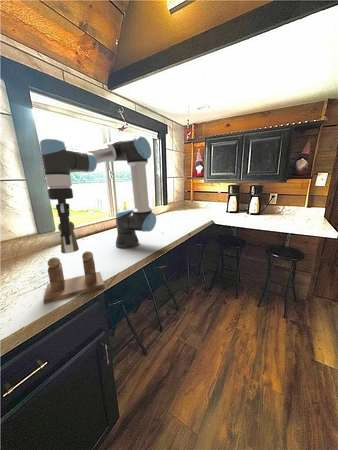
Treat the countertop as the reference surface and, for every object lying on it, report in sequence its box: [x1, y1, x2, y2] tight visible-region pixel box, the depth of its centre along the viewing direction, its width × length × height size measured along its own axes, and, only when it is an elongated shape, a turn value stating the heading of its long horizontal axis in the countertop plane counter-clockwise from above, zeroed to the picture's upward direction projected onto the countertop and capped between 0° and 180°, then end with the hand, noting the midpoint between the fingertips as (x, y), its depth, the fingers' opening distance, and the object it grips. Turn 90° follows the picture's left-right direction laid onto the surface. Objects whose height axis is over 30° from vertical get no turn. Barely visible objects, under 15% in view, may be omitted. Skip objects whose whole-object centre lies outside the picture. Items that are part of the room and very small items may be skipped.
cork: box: [57, 221, 80, 254], centre depth 68 cm, size 6×6×11 cm
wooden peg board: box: [43, 250, 105, 304], centre depth 71 cm, size 20×12×14 cm, turn 118°
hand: (69, 249), depth 69 cm, fingers closed on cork, 6 cm apart
